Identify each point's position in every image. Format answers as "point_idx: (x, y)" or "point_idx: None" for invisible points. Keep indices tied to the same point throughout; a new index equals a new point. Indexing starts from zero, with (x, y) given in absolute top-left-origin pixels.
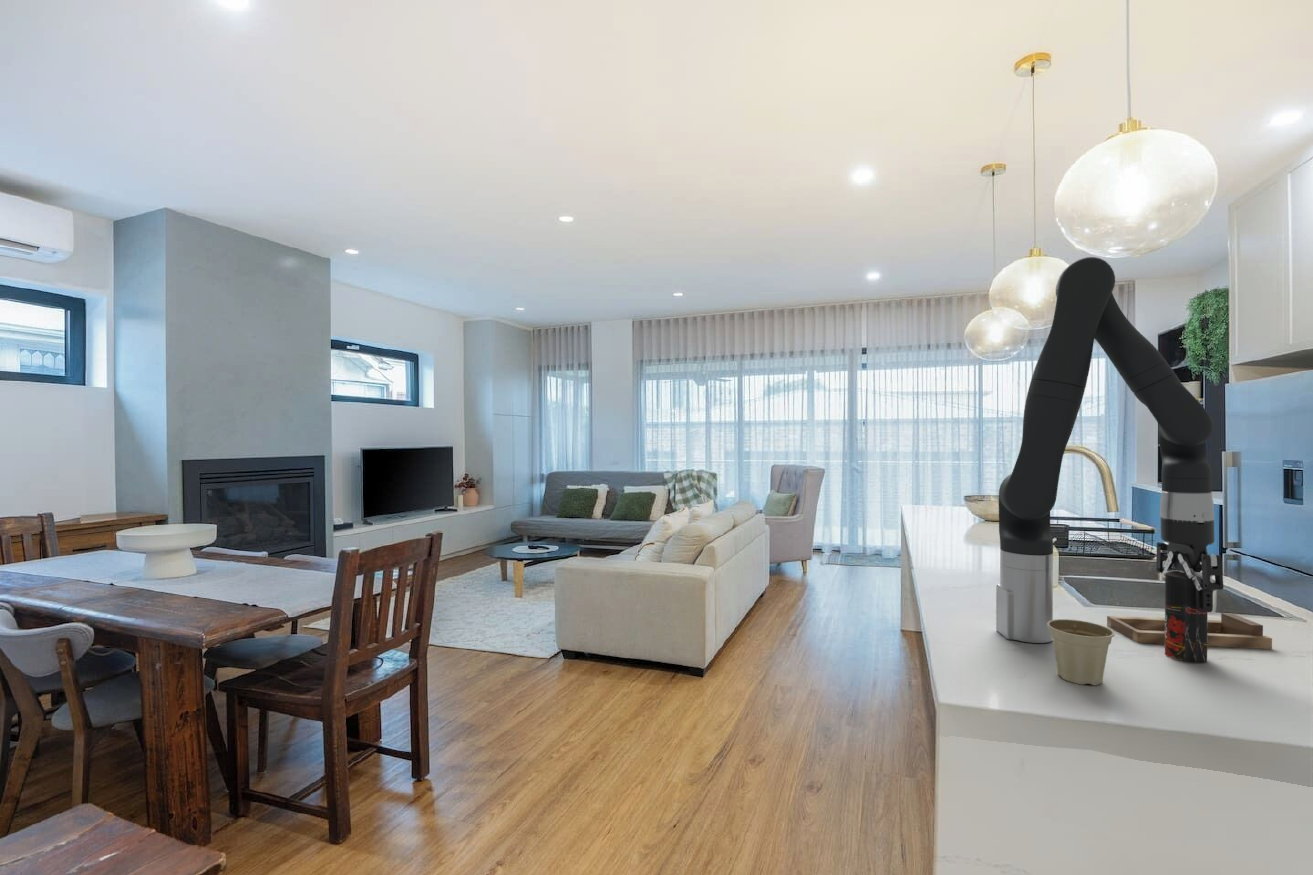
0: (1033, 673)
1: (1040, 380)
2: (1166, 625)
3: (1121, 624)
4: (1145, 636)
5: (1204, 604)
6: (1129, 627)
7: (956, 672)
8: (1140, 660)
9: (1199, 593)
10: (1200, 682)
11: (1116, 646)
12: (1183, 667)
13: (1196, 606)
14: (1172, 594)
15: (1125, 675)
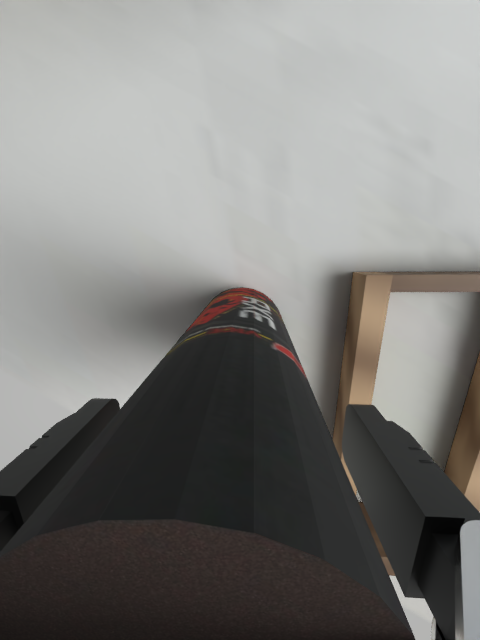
0: None
1: None
2: (244, 305)
3: (463, 274)
4: (358, 296)
5: (46, 434)
6: (419, 278)
7: None
8: (193, 192)
9: (5, 480)
10: (65, 256)
11: (311, 186)
12: (163, 278)
13: (98, 406)
14: (177, 370)
15: (47, 69)
